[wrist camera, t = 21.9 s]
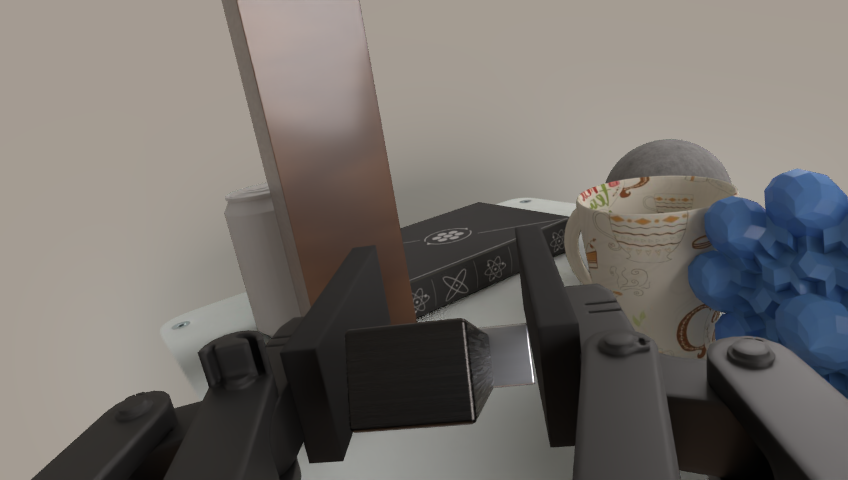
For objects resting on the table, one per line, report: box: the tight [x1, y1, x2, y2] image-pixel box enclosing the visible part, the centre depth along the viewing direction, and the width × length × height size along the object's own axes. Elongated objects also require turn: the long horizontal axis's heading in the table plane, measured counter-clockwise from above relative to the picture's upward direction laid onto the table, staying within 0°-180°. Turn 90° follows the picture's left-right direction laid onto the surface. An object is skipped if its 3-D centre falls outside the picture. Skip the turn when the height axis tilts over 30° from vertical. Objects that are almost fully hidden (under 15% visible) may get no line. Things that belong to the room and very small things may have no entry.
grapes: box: [688, 169, 848, 399], centre depth 22 cm, size 12×7×12 cm, turn 45°
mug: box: [564, 176, 739, 360], centre depth 33 cm, size 8×13×10 cm, turn 26°
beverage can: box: [224, 183, 301, 337], centre depth 43 cm, size 6×6×12 cm
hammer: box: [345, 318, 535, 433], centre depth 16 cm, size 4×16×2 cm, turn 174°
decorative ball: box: [606, 139, 731, 183], centre depth 44 cm, size 10×10×10 cm
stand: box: [222, 0, 417, 325], centre depth 31 cm, size 8×9×28 cm
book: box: [400, 202, 569, 318], centre depth 51 cm, size 22×15×3 cm
